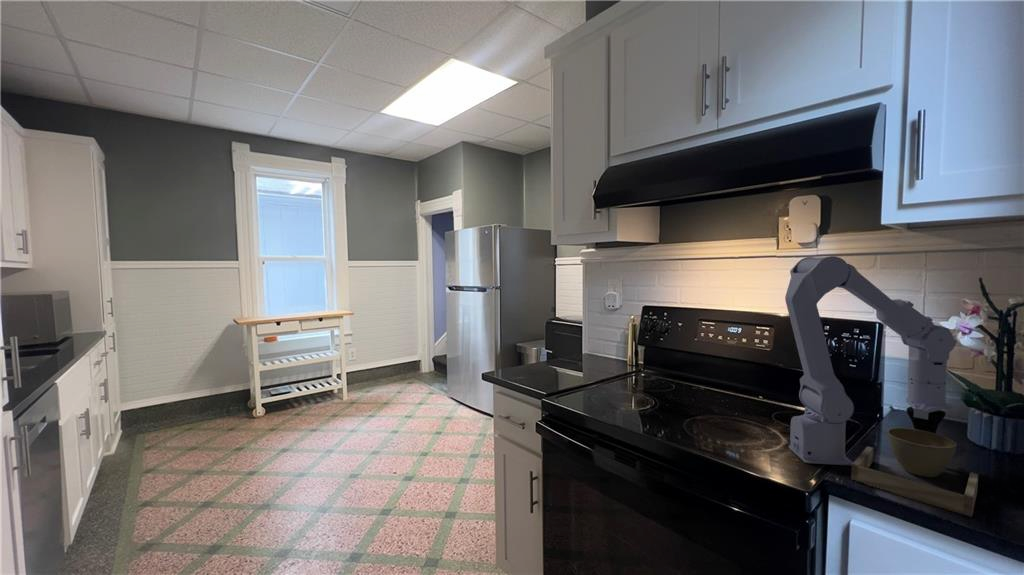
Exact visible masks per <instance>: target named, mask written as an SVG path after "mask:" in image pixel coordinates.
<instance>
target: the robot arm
mask: <svg viewBox="0 0 1024 575" xmlns="http://www.w3.org/2000/svg"><path fill="white" fill-rule="evenodd" d="M789 272H790V279H789V284H788V286H787V288H786V293H785V297H784V299H785V304H786V305H785V306H786V309H787V312H788V313H787V314H788V317H789V320H790V324H791V327H792V333H793V336H794V339H795V345H796V348H797V351H798V355H799V360H800V364H801V367H802V372H803V375H802V376H801V377H800V378H799V384H800V387H799V388H800V389H799V391H798V392H799V393H798V398H799V400H800V402H801V404H802V405H803V406H804V414H801V415H796V416H795V415H794V416H792V417H791V419H790V425H789V426H790V430H789V431H790V432H789V433H790V434H789V435H790V438H789V441H790V442H789V443H790V444H789V445H788V448H789V449H790V450H791V451H792V452H793V453H794V454H795V455H796V456H797V457H798V458H800V460H802V461H803V462H804V463H806V464H818V465H831V466H837V465H838V466H849V467H850V466H851V465H852V464H853V463H854V462H855V461H852V460H851V459H849V457H847V456H846V426H847V425H846V424H847V421H848V420H849V419H850V418H851V417H852V416H853V414H854V410H855V406H854V403H853V401H852V399H851V398H850V397H849V396H848V395H847V393H846V391H845V387H844V386H843V384H842V383H841V382H840V380H839V378H837V376H836V374H835V372H834V368H833V365H832V361H831V356H830V352H829V348H828V345H827V340H826V337H825V332H824V329H823V328H824V327H823V324H822V320H821V317H820V312H819V308H818V305H817V304H818V303H819V302H820V300H821V299H823V297H824V296H825V295H827V294H828V293H829V292H831V291H833V290H835V289H836V288H840V289H844V290H846V291H847V292H848V293H850V294H851V295H853V296H855V297H856V298H857V299H859V300H860V301H862V302H864V303H865V304H866V305H868V306H869V307H871V308H872V309H874V310H875V312H876V313H875V314H876V319H877V320H879V321H880V322H881V323H883V325H885V326H886V327H888V328H889V329H890V330H892V331H893V332H895V333H896V334H897V335H899V336H900V339H901V341H902V343H903V345H906V346H907V347H908V367H907V368H908V370H907V371H908V372H907V377H908V378H907V397H906V399H905V402H906V403H907V404H908V407H907V408H906V414H907V416H908V417H909V418H910V421H911V422H912V425H913V429H917V430H923V431H927V432H931V433H935V434H937V430H938V427H939V425H940V424H941V422H942V421H943V420H944V418H945V416H946V413H947V412H946V411H944V410H954V408H955V405H954V404H953V403H947V402H946V400H947V396H946V395H947V369H948V360H950V353H951V352H952V351H953V350H954V349H955V348H956V346H957V342H958V340H957V339H955V337H954V335H953V333H952V332H951V331H950V330H949V329H948V328H947V327H945V326H941V325H937V324H935V323H934V322H933V318H931V317H930V316H925V315H924V314H922V312H919V311H918V310H917V309H915V307H914V303H913V302H911V301H908V300H903V299H900V298H899V299H898V298H897V299H891V298H890V296H888V295H886V294H885V293H884V292H883V291H882V290H880V289H879V288H878V287H877V286H876V285H874V284H873V283H872V282H871V281H870V280H868V279H867V278H866V277H865V276H863V274H861V273H860V272H859V271H858V270H857V268H856V266H854V265H853V264H850V263H847V261H845V260H844V259H843V258H842V257H839V256H835V255H831V256H825V257H824V256H823V257H822V256H820V257H818V256H817V257H815V256H807V257H806V256H805V257H803V258H802V259H800V260H799V261H797V263H796V264H795V265H794V266H793V267H792V268H791V269H790V271H789Z"/></svg>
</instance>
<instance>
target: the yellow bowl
mask: <svg viewBox="0 0 1024 575" xmlns="http://www.w3.org/2000/svg"><path fill="white" fill-rule="evenodd" d="M886 433H887V437H888V442H889V445H890V448H891V451H892V452H893V455H894V456H895V458H896V460H897V462H898V463H899V465H900V466H901V467H902V469H903V470H905V471H906V472H908V473H911V474H913V475H916V476H920V477H925V478H936V477H938V476H939V475H941V473H943V471H944V470H945V469H946V468H947V467H948V466H949V464H951V461H952V460H953V458H954V455H955V453H956V449H957V442H955V441H954V440H953V439H952V438H951V439H950V438H948V437H947V436H943V435H941V434H937V433H936V434H935V433H931V432H927V431H923V430H917V429H914V428H909V427H908V428H907V427H892V428H889V429H888V430H887V432H886Z"/></svg>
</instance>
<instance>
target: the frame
mask: <svg viewBox="0 0 1024 575" xmlns="http://www.w3.org/2000/svg"><path fill="white" fill-rule="evenodd" d="M853 462H854V463H853V464H852V465H851V469H850V475H851V476H850V479H853V480H856V481H859V482H862V483H864V484H863V485H865V484H866V485H865V486H870V487H872V486H873V487H872V488H875V487H876V488H875V489H878V488H880V489H879V490H882V489H884V490H883V491H885V490H887V491H886V492H888V491H890V492H889V493H891V492H892V494H895V495H899V496H902V497H905V498H909V499H910V500H911V499H912V500H915V501H918V502H920V503H925V504H927V505H932V506H935V507H937V508H942V509H944V510H948V511H950V512H954V513H957V514H960V515H964V516H967V517H970V518H972V517H973V514H974V510H975V504H976V499H977V494H978V489H979V487H978V486H979V473H977V472H972V471H969V472H970V473H969V475H968V476H969V477H968V480H967V484H966V488H965V491H964V493H963V494H962V493H958V492H956V491H951V490H949V489H948V490H947V489H945V488H940V487H937V486H933V485H930V484H926V483H922V482H919V481H915V480H912V479H908V478H905V477H903V476H898V475H894V474H891V473H887V472H883V471H882V470H877V469H873V468H870V466H871V465H872V463H874V447H871V446H866V447H865V449H863V451H862V452H861V453H860V454H859V456H858V457H857V458H856V459H855V460H854V461H853ZM859 482H858V483H859ZM862 483H861V484H862Z"/></svg>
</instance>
